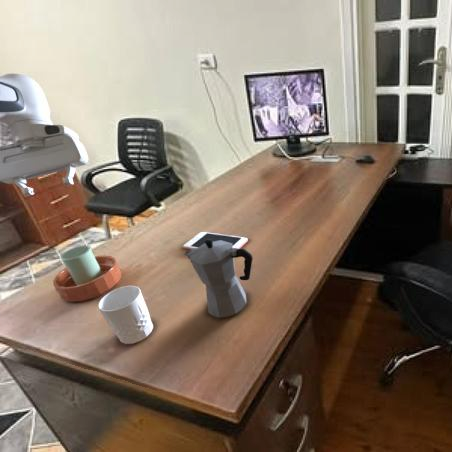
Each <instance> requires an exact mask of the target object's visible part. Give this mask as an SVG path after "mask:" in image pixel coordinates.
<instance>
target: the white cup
mask: <svg viewBox="0 0 452 452" xmlns="http://www.w3.org/2000/svg"><path fill="white" fill-rule="evenodd" d="M97 307H98V310H99V311H100V312H101V314H102V316H103V317H104V319H105V320H106V322H107V325H109V327H110V328H111V330H112V331H113V333H114V334H116V337H117V338H118V339H119V341H120V343H122V344H124V345H134V344H136V343H139V342H141V341H143V340H144V339H146V338H147V337H149V335H150V334H152V331H153V329H154V325H153V321H152V319H151V314H150V313H149V309H148V306H147V304H146V301H145V299H144V296H143V293H142V291H141V289H140V287H138V286H136V285H125V286H121V287H118V288H115V289H113V290H111V291H109V292H108V293H106V294H105V295H104V296H103V297H102V298H101V299H100V300H99V301H98V304H97Z"/></svg>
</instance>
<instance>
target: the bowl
mask: <svg viewBox="0 0 452 452" xmlns="http://www.w3.org/2000/svg"><path fill="white" fill-rule="evenodd" d="M94 256H95V255H94ZM95 258H96V260H97V262H98V264H99V266H100V268H101V270H102V272H103V275H102V276H100V277H99V278H97V279H95V280H93V281H90V282H88V283H85V284H82V285H78V286H76V284H75V282H74V280H73V278H72V277H71V275H70V273H69V271H68V270H67V268H66V267H65V268H64V269H62V270H61V271H59V273H58V274H57V275H56V276H55V277H54V278H53V280H52V283H53V287H54V288H55V290H56V291H57V293H58V295H59V296H60V298H61V299H62V300H64V301H66V302H71V303H72V302H83V301H88V300H91V299H94V298H97V297H99V296H101V295H103V294H105V293H107V292H108V291H110V290H111V289H112V288H114V287H115V285H117V283H119V281H120V280H121V278H122V275H123V273H122V270H121V269H120V266H119V264H118V262H117V260H116V258H115V257H113V256H111V255H105V254H104V255H96V256H95Z"/></svg>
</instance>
